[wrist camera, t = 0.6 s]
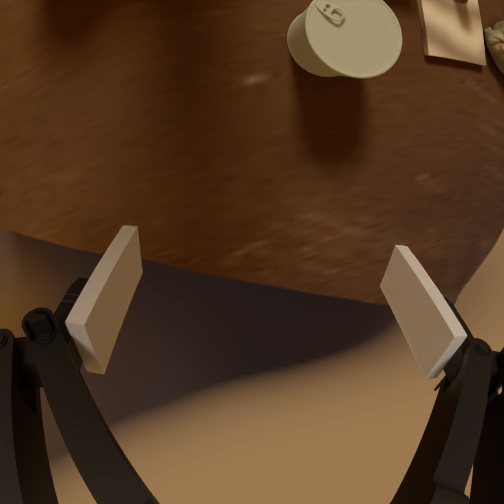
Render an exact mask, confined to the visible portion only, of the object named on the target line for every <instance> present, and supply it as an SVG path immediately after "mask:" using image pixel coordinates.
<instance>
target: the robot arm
mask: <svg viewBox="0 0 504 504" xmlns="http://www.w3.org/2000/svg"><path fill="white" fill-rule="evenodd" d="M142 273H143V271H142V262H141V254H140V245H139V236H138V226H126V225H123V226H122V228H121V229H120V231H119V232H118V234H117V235H116V237H115V238H114V240H113V241H112V243H111V244H110V246H109V248H108V249H107V251H106V252H105V254H104V255H103V257H102V259H101V260H100V262H99V264H98V265H97V267H96V269H95V270H94V272H93V273H92V275H91V277H90V278H79V279H78V280H77V281H75V282H74V283H73V284H72V285H71V286H70V288H69V290H68V291H67V293H66V295H65V296H64V298H63V300H62V301H61V303H60V305H59V306H58V308H57V309H56V311H55V313H54V314H53V313H52V311H51V310H50V309H47V308H36V309H34V310H32V311H30V312H29V313H27V314H26V315H25V317H24V318H23V320H22V328H23V330H24V332H25V334H26V336H27V337H20V338H15V337H14V335H13V333H12V332H11V331H10V330H8V329H0V504H58V500H57V496H56V493H55V488H54V484H53V480H52V475H51V471H50V466H49V460H48V455H47V449H46V443H45V436H44V428H43V420H42V411H41V399H40V387H43V388H44V391H45V394H46V397H47V400H48V403H49V405H50V408H51V411H52V413H53V416H54V418H55V421H56V423H57V425H58V428H59V430H60V433H61V435H62V437H63V440H64V442H65V444H66V446H67V448H68V451H69V453H70V455H71V457H72V459H73V461H74V463H75V465H76V467H77V469H78V471H79V473H80V474H81V476H82V478H83V480H84V482H85V484H86V485H87V487H88V489H89V491H90V492H91V494H92V496H93V497H94V499H95V501H96V503H97V504H159V502H158V501H157V500H156V498H155V497H154V496H153V495H152V493H151V492H150V490H149V489H148V488H147V486H146V485H145V484H144V482H143V481H142V479H141V478H140V476H139V475H138V474H137V472H136V471H135V469H134V468H133V466H132V465H131V463H130V462H129V460H128V459H127V457H126V456H125V454H124V452H123V451H122V449H121V447H120V446H119V444H118V443H117V441H116V440H115V438H114V436H113V434H112V433H111V431H110V429H109V427H108V425H107V424H106V422H105V420H104V418H103V416H102V415H101V413H100V411H99V409H98V407H97V405H96V403H95V401H94V399H93V397H92V395H91V393H90V391H89V389H88V387H87V385H86V383H85V381H84V379H83V376H82V374H81V373H80V368H81V365H82V363H83V364H84V366H85V368H86V370H87V371H89V372H94V373H100V374H104V373H105V370H106V367H107V364H108V361H109V359H110V356H111V353H112V350H113V347H114V344H115V342H116V339H117V336H118V333H119V330H120V328H121V325H122V323H123V320H124V317H125V315H126V312H127V310H128V307H129V304H130V302H131V300H132V297H133V295H134V292H135V290H136V287H137V285H138V282H139V280H140V277H141V275H142ZM380 287H381V289H382V291H383V293H384V295H385V297H386V299H387V301H388V303H389V305H390V307H391V309H392V311H393V313H394V315H395V317H396V319H397V321H398V324H399V326H400V328H401V330H402V332H403V334H404V336H405V338H406V341H407V343H408V345H409V347H410V349H411V351H412V354H413V356H414V358H415V361H416V363H417V365H418V367H419V370H420V372H421V374H422V377H423V379H424V380H426V379H432V378H437V376H438V375H439V374H440V373H441V371H442V370H443V369H444V372H445V374H446V375H445V376H444V378H443V379H442V380H441V382H440V383H439V384H438V385H437V386H436V388H435V389H434V390H435V391H436V390H437V389H438V388H439V387H440V389H439V392H438V395H437V398H436V401H435V404H434V407H433V410H432V413H431V416H430V418H429V421H428V423H427V426H426V429H425V431H424V434H423V436H422V439H421V441H420V444H419V446H418V449H417V451H416V453H415V455H414V458H413V460H412V462H411V464H410V466H409V468H408V470H407V473H406V475H405V477H404V479H403V481H402V483H401V484H400V487H399V488H398V490H397V492H396V494H395V496H394V498H393V500H392V501H391V502H390V504H504V347H503V349H502V350H501V351H500V352H497V351H492V350H491V348H490V346H489V345H488V344H487V343H486V342H485V341H483V340H481V339H478V338H474V337H473V336H472V334H471V332H470V330H469V329H468V327H467V325H466V324H465V322H464V321H463V319H461V316H460V314H459V313H457V310H456V308H455V307H454V305H453V304H452V303H451V302H450V301H449V300H448V299H447V298H446V297H443V296H442V295H441V293H440V292H439V290H438V289H437V287H436V286H435V284H434V283H433V281H432V280H431V278H430V277H429V276H428V274H427V273H426V271H425V270H424V269H423V267H422V266H421V264H420V263H419V262H418V260H417V259H416V258H415V256H414V255H413V254H412V252H411V251H410V250H409V248H408V247H407V246H399V245H395V248H394V251H393V253H392V256H391V259H390V262H389V264H388V267H387V269H386V272H385V275H384V277H383V280H382V282H381V285H380ZM501 386H502V392H501V394H498V389H500V387H501ZM473 462H474V463H473ZM472 465H473V475H472V484H471V492H470V499H469V497H468V496H466V495H465V494H464V491H465V487H466V484H467V481H468V478H469V475H470V472H471V468H472Z"/></svg>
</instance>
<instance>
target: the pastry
mask: <svg viewBox="0 0 504 504" xmlns="http://www.w3.org/2000/svg"><path fill="white" fill-rule="evenodd" d="M484 37H485V42H486V46H487V48H488V50H489V52H490V54H491V57H492V59H493V61H494V62H495V65H496V67H497V68H498V69H499V70H500V71H501V73H502V74H503V75H504V20H503V21H499V22H497V23H496V24H494V26H493V27H492V28H491V27H489V28H486V29H485V30H484Z"/></svg>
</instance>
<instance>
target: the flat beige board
mask: <svg viewBox="0 0 504 504" xmlns="http://www.w3.org/2000/svg"><path fill="white" fill-rule="evenodd" d="M417 5H418V10H419V17H420V23H421V30H422V38H423V47H424V55H429V56H436V57H442V58H448V59H454V60H459V61H464V62H469V63H474V64H478V65H483V66H486V61H485V49H484V40H483V31H482V24H481V18H480V12H479V6H478V1H477V0H417Z"/></svg>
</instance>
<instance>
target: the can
mask: <svg viewBox="0 0 504 504" xmlns="http://www.w3.org/2000/svg"><path fill="white" fill-rule="evenodd" d="M287 44H288V48H289V51H290V53H291V55H292V57H293V59H294V60H295V61H296V62H297V64H298V65H300V66H301V67H302V68H303V69H305V70H306V71H308V72H310V73H312V74H314V75H318V76H323V77H334V76H348V77H352V78H371V77H375V76H378V75H380V74H383V73H384V72H386V71H387V70H389V69H390V68H391V67H392V66H393V65H394V64H395V62H396V61H397V59H398V57H399V55H400V52H401V48H402V32H401V28H400V25H399V22H398V20H397V18H396V16H395V14H394V13H393V11H392V10H391V9H390V7H389V6H388V5H387V4H386V3H385V2H384V1H382V0H313V1H312V3H311V4H310V6H309V7H308V8H307V9H306V10H305V11H304V12H303V13H302V14H300V15H299V16H297V17H296V18H295V19H294V21H293V22H292V23H291V25H290V27H289V30H288V34H287Z"/></svg>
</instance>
